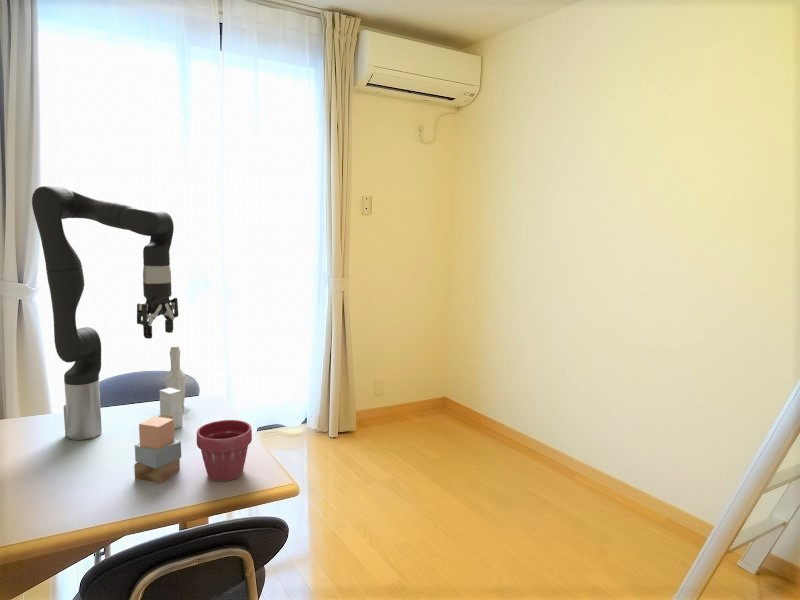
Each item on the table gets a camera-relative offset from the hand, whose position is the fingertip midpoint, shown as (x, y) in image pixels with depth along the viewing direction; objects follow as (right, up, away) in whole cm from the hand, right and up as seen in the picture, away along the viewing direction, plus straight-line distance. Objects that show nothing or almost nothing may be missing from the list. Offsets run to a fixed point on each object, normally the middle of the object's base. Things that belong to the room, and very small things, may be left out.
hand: (158, 335), depth 168 cm
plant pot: (+24, -37, -14) cm, 46 cm away
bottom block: (+6, -36, -16) cm, 40 cm away
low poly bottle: (-9, -28, +35) cm, 46 cm away
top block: (+7, -32, -16) cm, 37 cm away
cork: (+3, -34, -2) cm, 34 cm away
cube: (+7, -28, -17) cm, 33 cm away
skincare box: (-3, -31, +17) cm, 36 cm away
